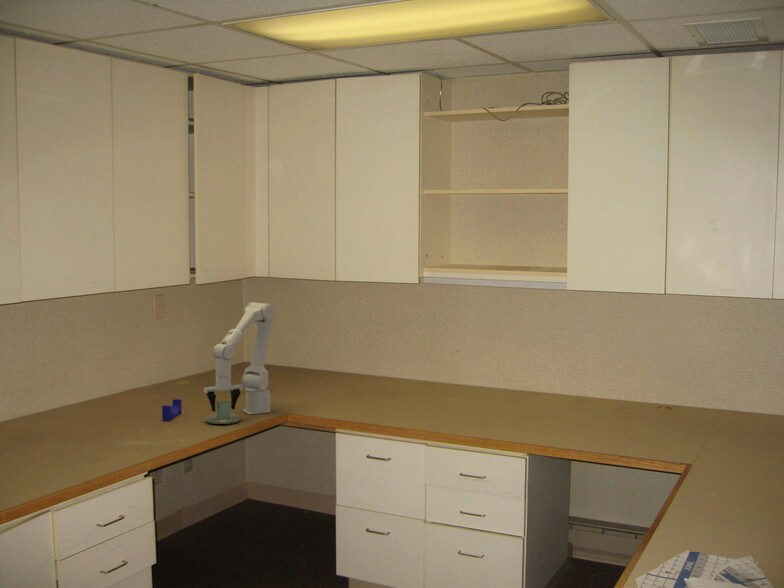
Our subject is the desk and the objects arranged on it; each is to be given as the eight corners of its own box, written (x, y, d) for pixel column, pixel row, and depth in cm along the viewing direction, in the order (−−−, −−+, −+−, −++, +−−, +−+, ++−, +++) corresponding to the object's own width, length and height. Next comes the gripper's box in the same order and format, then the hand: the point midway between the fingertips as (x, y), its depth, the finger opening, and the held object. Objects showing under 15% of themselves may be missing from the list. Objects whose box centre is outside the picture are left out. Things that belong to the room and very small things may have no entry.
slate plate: (234, 415, 315) (234, 411, 315) (245, 423, 304) (245, 419, 304) (201, 419, 309) (201, 415, 309) (211, 427, 298) (211, 423, 298)
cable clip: (170, 413, 317) (170, 398, 317) (181, 414, 317) (181, 399, 316) (158, 421, 305) (158, 405, 305) (169, 421, 305) (169, 406, 304)
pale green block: (226, 415, 309) (226, 400, 309) (229, 418, 306) (229, 402, 305) (216, 416, 307) (216, 401, 307) (219, 419, 304) (219, 403, 303)
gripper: (238, 371, 312) (238, 405, 313) (201, 374, 305) (201, 409, 306) (244, 375, 306) (244, 409, 307) (207, 378, 299) (207, 413, 300)
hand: (223, 410), depth 306 cm, fingers open, 7 cm apart
